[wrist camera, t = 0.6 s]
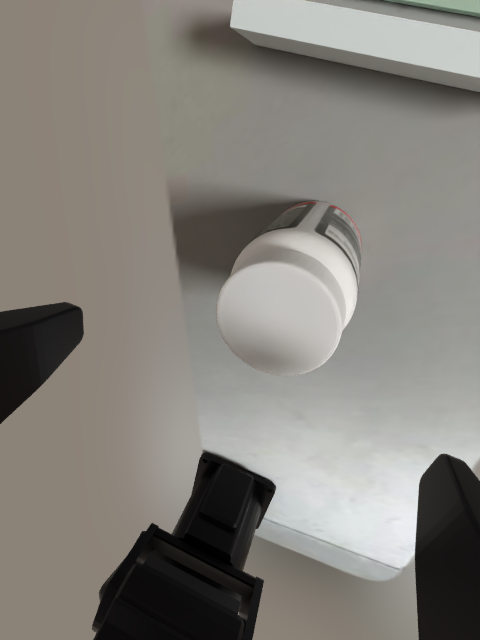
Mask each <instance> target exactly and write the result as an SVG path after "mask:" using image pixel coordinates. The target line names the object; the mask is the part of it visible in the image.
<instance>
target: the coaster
mask: <svg viewBox="0 0 480 640" xmlns="http://www.w3.org/2000/svg"><path fill="white" fill-rule="evenodd" d="M384 1H390V2H396V3H402V4H407V5H413V6H419V7H425V8H430V9H436V10H442V11H448V12H454V13H459V14H465V15H471V16H477V17H480V0H384Z"/></svg>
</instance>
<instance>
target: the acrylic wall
mask: <svg viewBox="0 0 480 640" xmlns="http://www.w3.org/2000/svg"><path fill="white" fill-rule="evenodd" d="M230 27H231V28H232V29H234V30H235V31H236V32H238V33H239V34H241V35H242V36H243V37H245V38H246V39H248V40H249V41H250V42H252V43H253V44H255V45H258V46H263V47H267V48H272V49H277V50H282V51H286V52H291V53H296V54H301V55H305V56H310V57H315V58H319V59H324V60H329V61H334V62H338V63H343V64H348V65H353V66H357V67H362V68H367V69H372V70H376V71H381V72H386V73H391V74H395V75H400V76H405V77H409V78H414V79H419V80H424V81H428V82H433V83H438V84H443V85H447V86H452V87H457V88H462V89H466V90H471V91H476V92H480V32H476V31H471V30H465V29H460V28H454V27H449V26H443V25H437V24H432V23H426V22H421V21H415V20H410V19H404V18H399V17H393V16H388V15H382V14H377V13H371V12H366V11H360V10H355V9H349V8H343V7H338V6H332V5H327V4H321V3H316V2H310V1H305V0H234V1H233V8H232V15H231V22H230Z"/></svg>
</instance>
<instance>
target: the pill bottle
mask: <svg viewBox="0 0 480 640" xmlns="http://www.w3.org/2000/svg"><path fill="white" fill-rule="evenodd" d="M361 255H362V242H361V237H360V233H359V230H358V228H357V226H356V224H355V222H354V221H353V220H352V218H351V217H350V216H349V215H348V214H347V213H346V212H344V211H343V210H342V209H340V208H338V207H336V206H334V205H332V204H329V203H325V202H319V201H310V202H304V203H300V204H297V205H295V206H293V207H291V208H289V209H288V210H286V211H285V212H283V213H282V214H281V215H280V216H279V217H278V218H277V219H275V220H274V221H273V222H272V223H271V224H270V225H269V226H268V227H267V228H265V229H264V230H263V231H262V232H261V233H260V234H259V235H258V236H256V237H255V238H254V239H253V240H252V241H251V242H250V243H249V244H248V245H247V246H246V247H245V248H244V249H243V250H242V252H241V253H240V255H239V256H238V258H237V259H236V261H235V264H234V266H233V268H232V272H231V275H230V277H229V278H228V279H227V281H226V282H225V283H224V285H223V287H222V289H221V290H220V293H219V296H218V299H217V305H216V318H217V324H218V327H219V330H220V333H221V335H222V337H223V339H224V341H225V343H226V344H227V345H228V347H229V348H230V349H231V350H232V352H233V353H234V354H235V355H236V356H237V357H238V358H240V359H241V360H242V361H244V362H245V363H246V364H248V365H250V366H251V367H253V368H255V369H257V370H260V371H262V372H265V373H269V374H273V375H280V376H293V375H299V374H304V373H307V372H310V371H312V370H314V369H316V368H318V367H319V366H321V365H322V364H323V363H325V362H326V361H327V360H328V359H329V358H330V357H331V355H332V354H333V353H334V351H335V349H336V348H337V346H338V343H339V340H340V337H341V333H342V330H343V329H344V328H345V327H346V325H347V324H348V323H349V321H350V319H351V317H352V315H353V312H354V309H355V306H356V302H357V297H358V285H359V275H360V264H361Z"/></svg>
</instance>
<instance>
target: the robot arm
mask: <svg viewBox="0 0 480 640" xmlns="http://www.w3.org/2000/svg"><path fill="white" fill-rule="evenodd" d="M83 334H84V331H83V313H82V310H81V308H80V307H77V306H75V305H73V304H70V303H67V302H63V303H56V304H49V305H43V306H36V307H30V308H23V309H16V310H9V311H3V312H0V424H1V423H2V422H3V421H4V420H5V419H6V418H7V417H8V416H9V415H10V414H12V412H14V411H15V410H16V409H17V408H18V407H19V406H20V405H21V404H22V403H23V402H24V401H26V400H27V399H28V398H29V397H30V396H31V395H32V394H33V393H34V392H35V391H36V390H37V389H38V388H39V387H40V386H41V385H42V384H43V383H44V382H45V381H46V380H47V379H48V378H49V377H50V375H52V373H53V372H54V371H55V370H56V369H57V368H58V367H59V366H60V364H61V363H62V362H63V361H64V360H65V359H66V358H67V356H68V355H69V354H70V353H71V352H72V351H73V350H74V349H75V347H76V346H77V345H78V344H79V343H80V341H81V340H82V337H83ZM275 490H276V486H275V485H274V484H273V483H272V482H270V481H267V480H265V479H263V478H261V477H259V476H256V475H254V474H252V473H250V472H248V471H246V470H243V469H241V468H239V467H237V466H235V465H232V464H230V463H228V462H226V461H224V460H221V459H219V458H217V457H215V456H213V455H210V454H208V453H203V454H202V455H201V457H200V460H199V464H198V469H197V473H196V477H195V482H194V487H193V490H192V495H191V497H190V499H189V501H188V503H187V505H186V507H185V509H184V511H183V513H182V515H181V517H180V519H179V521H178V523H177V525H176V527H175V529H174V530H173V533H172V534H169V533H168V532H166V531H164V530H162V529H160V528H158V526H157V525H155V524H153V523H152V524H151V525H150V526H149V528H148V529H147V531H142V533H141V534H140V536H139V538H138V540H137V541H136V543H135V545H134V546H133V548H132V549H131V551H130V552H129V554H128V556H127V557H126V558H125V559H124V560H123V562H122V563H121V564H120V565H119V566H118V568H117V569H116V570H115V571H114V572H113V573H112V574H111V576H110V577H109V578H108V579H107V581H106V582H105V583H104V584H103V586H102V587H101V589H100V592H99V598H100V605H99V607H98V611H97V614H96V616H95V619H94V622H93V625H92V630H93V631H94V632H96V633H97V634H96V636H95V638H94V640H252V638H253V633H254V628H255V622H256V618H257V613H258V607H259V603H260V598H261V593H262V588H263V583H264V580H262V579H261V578H259V577H256V578H255V577H253V576H251V575H249V574H247V573H245V572H243V569H244V566H245V562H246V559H247V556H248V553H249V549H250V546H251V542H252V539H253V536H254V533H255V529H258V528H259V526H260V524H261V521H262V519H263V517H264V515H265V513H266V511H267V508H268V506H269V504H270V502H271V500H272V498H273V496H274V493H275ZM415 573H416V591H417V592H416V593H417V613H418V632H419V640H480V481H479V480H478V478H477V477H476V476H475V474H474V473H473V472H472V470H471V469H470V468H469V467H468V465H467V464H466V463H465V462H464V461H462V460H460V459H458V458H455V457H453V456H450V455H448V454H441V455H439V456H438V457H437V458H436V459H435V461H434V462H433V463H432V464H431V465H430V467H429V468H428V469H427V470H426V471H425V473H424V474H423V475H422V477H421V480H420V484H419V496H418V512H417V528H416V544H415ZM238 612H239V615H238Z"/></svg>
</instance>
